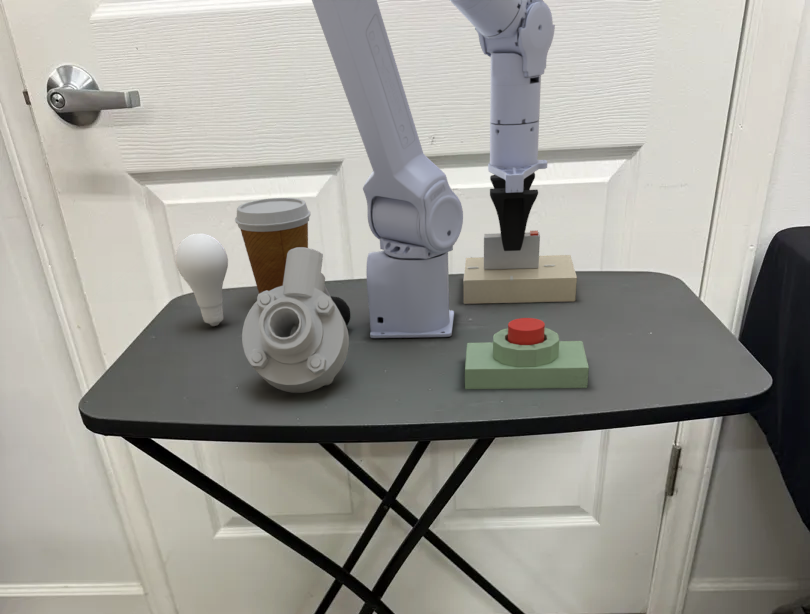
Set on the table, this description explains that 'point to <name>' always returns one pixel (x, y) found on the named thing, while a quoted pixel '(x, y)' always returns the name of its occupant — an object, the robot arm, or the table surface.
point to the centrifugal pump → (298, 328)
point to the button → (526, 331)
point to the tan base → (520, 282)
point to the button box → (526, 364)
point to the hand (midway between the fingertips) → (511, 241)
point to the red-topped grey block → (511, 252)
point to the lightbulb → (204, 273)
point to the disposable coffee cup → (272, 236)
